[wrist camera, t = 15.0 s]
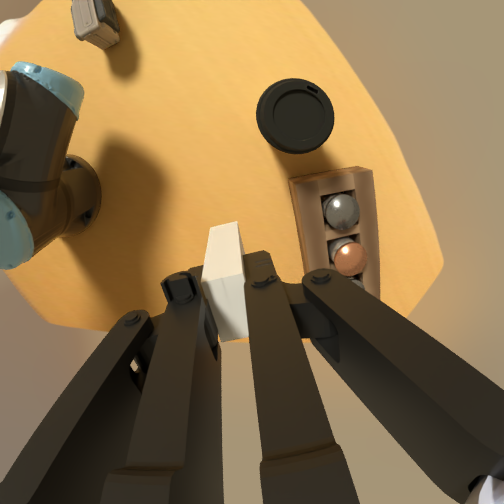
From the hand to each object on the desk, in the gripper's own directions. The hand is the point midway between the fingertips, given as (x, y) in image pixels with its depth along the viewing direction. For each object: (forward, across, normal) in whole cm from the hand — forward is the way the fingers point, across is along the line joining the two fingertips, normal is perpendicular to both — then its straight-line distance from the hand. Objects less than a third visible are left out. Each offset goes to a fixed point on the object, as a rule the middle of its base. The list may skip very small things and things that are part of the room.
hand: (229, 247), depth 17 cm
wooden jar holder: (+34, +16, -16) cm, 41 cm away
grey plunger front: (+34, +16, -8) cm, 38 cm away
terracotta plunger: (+32, +16, -16) cm, 39 cm away
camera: (+35, -15, +34) cm, 51 cm away
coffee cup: (+35, +10, +7) cm, 37 cm away
